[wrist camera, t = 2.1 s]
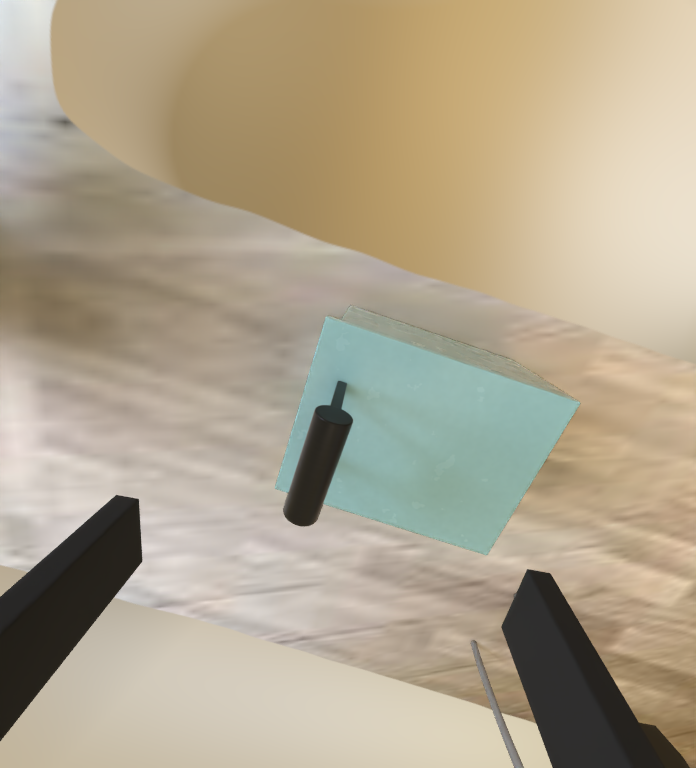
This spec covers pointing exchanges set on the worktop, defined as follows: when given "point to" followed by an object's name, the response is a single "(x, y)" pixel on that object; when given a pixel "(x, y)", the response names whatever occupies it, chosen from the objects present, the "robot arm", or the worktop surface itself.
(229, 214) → the worktop surface
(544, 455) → the cabinet door
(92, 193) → the worktop surface
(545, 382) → the teal box
